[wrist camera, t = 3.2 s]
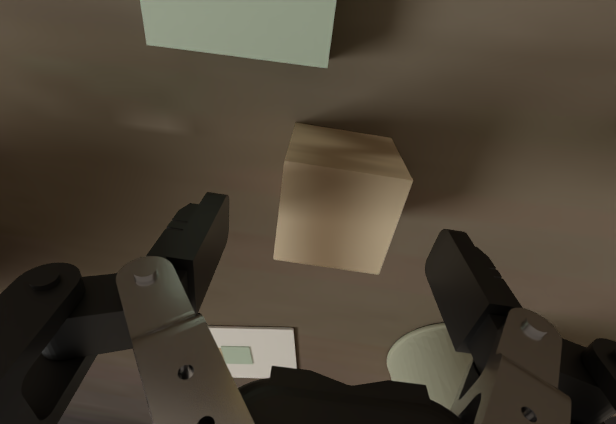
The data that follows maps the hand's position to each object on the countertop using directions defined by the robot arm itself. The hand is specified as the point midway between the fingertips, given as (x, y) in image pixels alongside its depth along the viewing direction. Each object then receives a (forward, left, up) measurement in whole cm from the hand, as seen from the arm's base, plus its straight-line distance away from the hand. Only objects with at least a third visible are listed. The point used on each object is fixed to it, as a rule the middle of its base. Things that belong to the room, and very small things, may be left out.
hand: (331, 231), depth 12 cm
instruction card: (+5, +19, -6) cm, 20 cm away
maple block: (0, +1, -6) cm, 6 cm away
